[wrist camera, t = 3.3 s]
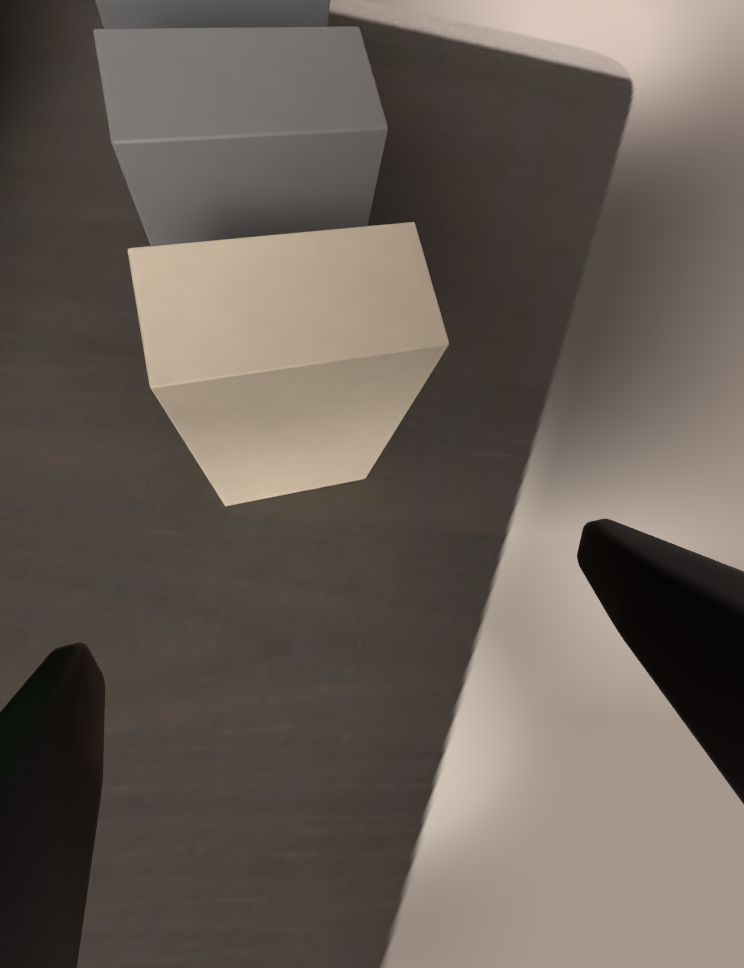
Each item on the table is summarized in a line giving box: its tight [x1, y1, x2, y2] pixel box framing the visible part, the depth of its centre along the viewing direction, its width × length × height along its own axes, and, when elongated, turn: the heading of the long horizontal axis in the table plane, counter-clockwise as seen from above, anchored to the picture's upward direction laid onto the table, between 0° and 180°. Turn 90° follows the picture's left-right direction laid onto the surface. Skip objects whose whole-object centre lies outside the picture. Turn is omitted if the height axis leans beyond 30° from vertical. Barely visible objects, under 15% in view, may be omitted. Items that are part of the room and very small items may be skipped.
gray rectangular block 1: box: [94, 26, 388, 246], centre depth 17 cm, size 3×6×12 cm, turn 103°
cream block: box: [128, 222, 449, 506], centre depth 16 cm, size 3×6×12 cm, turn 103°
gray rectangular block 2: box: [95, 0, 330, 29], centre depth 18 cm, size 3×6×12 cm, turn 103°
